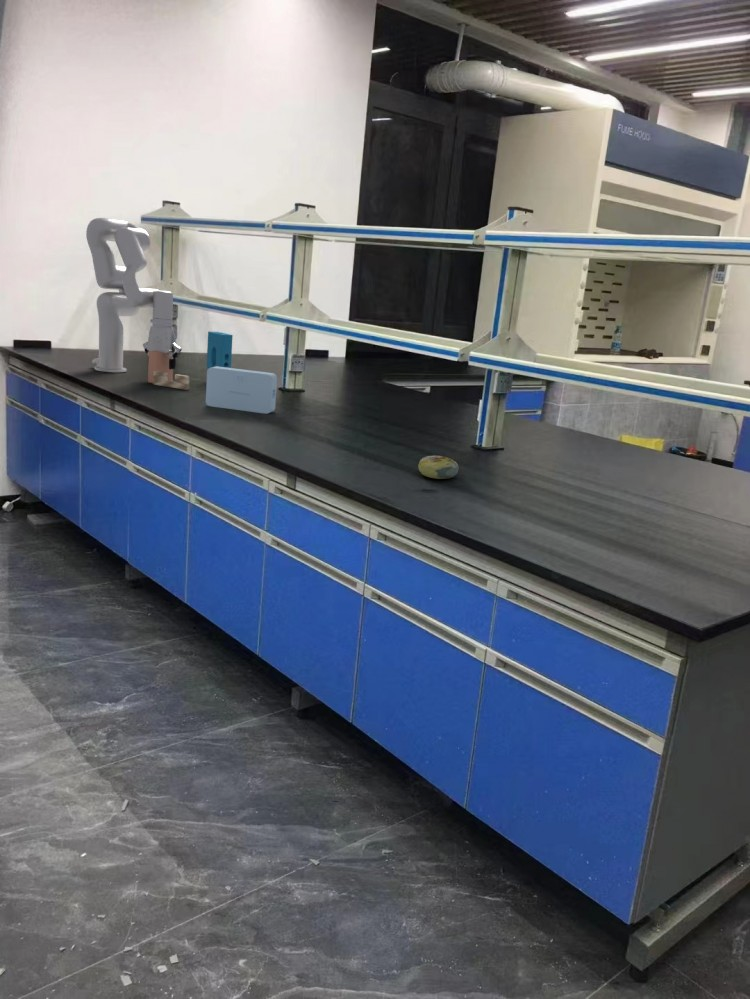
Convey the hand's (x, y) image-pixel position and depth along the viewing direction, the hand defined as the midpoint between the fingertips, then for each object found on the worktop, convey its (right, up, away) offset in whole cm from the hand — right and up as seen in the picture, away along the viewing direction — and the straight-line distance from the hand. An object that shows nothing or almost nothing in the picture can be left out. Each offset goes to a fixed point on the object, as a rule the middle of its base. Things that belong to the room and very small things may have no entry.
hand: (161, 367), depth 334 cm
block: (+20, -4, +13) cm, 24 cm away
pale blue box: (+37, -21, -42) cm, 60 cm away
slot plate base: (+6, -9, -9) cm, 14 cm away
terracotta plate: (-1, -5, +2) cm, 6 cm away
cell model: (+100, -46, -112) cm, 157 cm away
